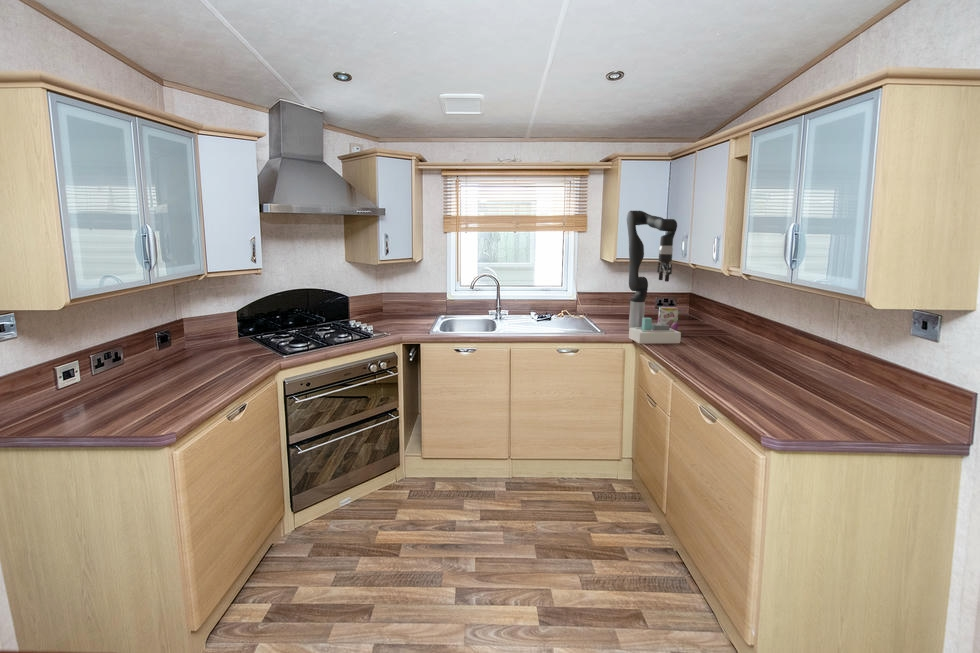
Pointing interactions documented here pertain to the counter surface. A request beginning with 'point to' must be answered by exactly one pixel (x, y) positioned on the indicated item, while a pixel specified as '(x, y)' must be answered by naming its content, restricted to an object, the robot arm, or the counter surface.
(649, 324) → the plug
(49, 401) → the counter surface
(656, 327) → the shutter
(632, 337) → the white tray
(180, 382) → the counter surface
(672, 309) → the candy bar box
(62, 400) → the counter surface
